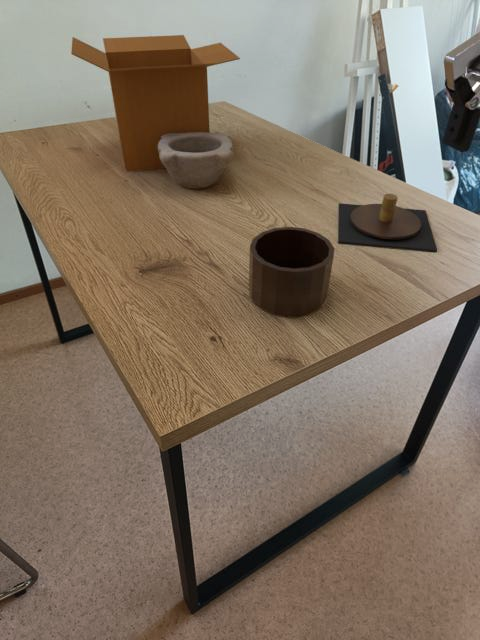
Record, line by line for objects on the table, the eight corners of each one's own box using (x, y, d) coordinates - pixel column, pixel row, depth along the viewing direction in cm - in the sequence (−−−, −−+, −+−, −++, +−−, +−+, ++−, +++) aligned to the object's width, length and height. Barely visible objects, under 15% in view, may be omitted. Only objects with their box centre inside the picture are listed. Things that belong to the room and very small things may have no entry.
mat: (424, 212, 95) (425, 210, 95) (436, 252, 83) (437, 250, 83) (338, 205, 98) (339, 203, 97) (338, 243, 86) (338, 241, 85)
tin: (313, 267, 79) (319, 224, 74) (337, 312, 70) (346, 266, 65) (243, 274, 78) (243, 230, 72) (258, 321, 68) (260, 275, 63)
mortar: (231, 166, 114) (231, 128, 108) (234, 195, 101) (234, 154, 95) (164, 167, 113) (160, 129, 107) (158, 197, 100) (153, 156, 94)
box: (214, 123, 139) (211, 24, 122) (250, 174, 110) (252, 54, 93) (93, 133, 131) (72, 29, 115) (97, 190, 103) (70, 63, 86)
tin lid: (400, 206, 96) (407, 179, 92) (432, 238, 86) (441, 210, 82) (340, 211, 94) (344, 184, 90) (365, 245, 84) (371, 216, 80)
